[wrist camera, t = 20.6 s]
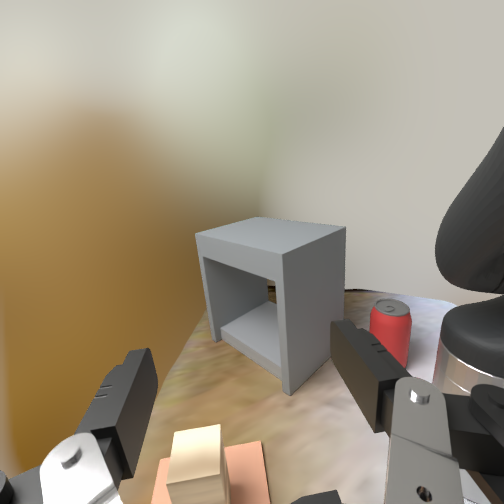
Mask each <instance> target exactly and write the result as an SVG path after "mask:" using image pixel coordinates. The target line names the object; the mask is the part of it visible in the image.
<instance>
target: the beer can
mask: <svg viewBox="0 0 504 504" xmlns="http://www.w3.org/2000/svg"><path fill="white" fill-rule="evenodd" d="M409 311H410V309H409V307H408V306H407V305H406V304H405V303H403V302H401V301H398V300H394V299H380V300H378V301H376V302H375V303H374V307H373V309H372V311H371V315H370V331H369V332H370V333H371V334H373V335H374V336H375V337H376V338H377V339H378V340H379V341H380V342H381V345H382V344H383V346H384V347H385V348H386V349H387V351H388V352H390V353H391V354H392V355H393V356H394V357H395V359H396V360H397V361H398V362H399V363H400V364H401V365H402V366H403V367H404V368H405V367H406V365H407V358H408V350H409V342H410V333H411V325H412V319H411V315H410V312H409Z"/></svg>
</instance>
